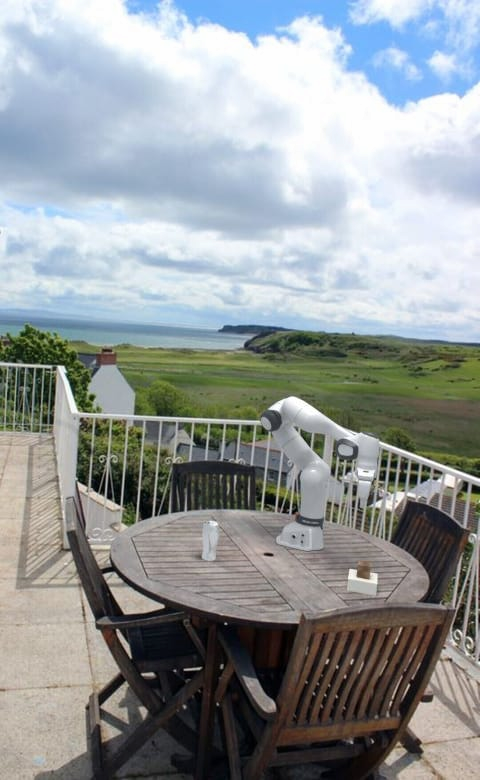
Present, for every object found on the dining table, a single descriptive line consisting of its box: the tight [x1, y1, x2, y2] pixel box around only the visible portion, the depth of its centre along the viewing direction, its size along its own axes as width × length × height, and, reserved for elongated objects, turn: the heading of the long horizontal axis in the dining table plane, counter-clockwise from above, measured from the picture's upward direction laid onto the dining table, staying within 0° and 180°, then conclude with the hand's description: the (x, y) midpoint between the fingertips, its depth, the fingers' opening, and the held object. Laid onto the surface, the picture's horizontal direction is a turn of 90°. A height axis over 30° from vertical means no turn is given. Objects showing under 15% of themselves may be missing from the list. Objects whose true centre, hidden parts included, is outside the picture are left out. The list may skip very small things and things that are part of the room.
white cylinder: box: [201, 520, 220, 562], centre depth 237 cm, size 7×7×15 cm
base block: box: [346, 568, 379, 597], centre depth 221 cm, size 11×11×5 cm
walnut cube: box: [356, 560, 372, 580], centre depth 221 cm, size 5×5×5 cm
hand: (362, 504), depth 234 cm, fingers open, 8 cm apart
